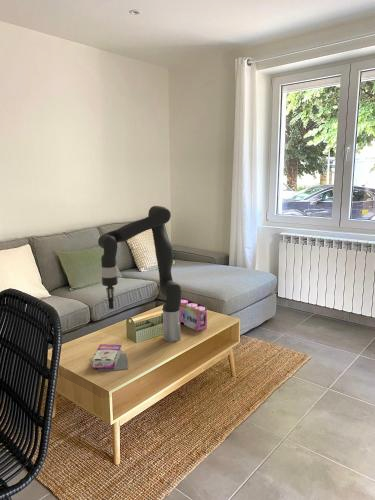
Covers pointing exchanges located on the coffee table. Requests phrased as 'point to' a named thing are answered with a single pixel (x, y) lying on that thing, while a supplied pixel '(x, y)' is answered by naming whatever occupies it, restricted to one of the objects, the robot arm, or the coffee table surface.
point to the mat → (119, 366)
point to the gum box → (193, 314)
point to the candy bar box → (106, 356)
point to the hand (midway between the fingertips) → (111, 308)
